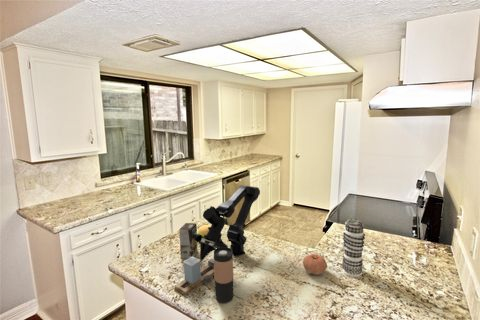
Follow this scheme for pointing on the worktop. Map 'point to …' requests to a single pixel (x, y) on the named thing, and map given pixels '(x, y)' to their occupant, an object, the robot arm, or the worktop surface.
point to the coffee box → (188, 240)
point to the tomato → (315, 264)
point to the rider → (192, 270)
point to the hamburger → (203, 230)
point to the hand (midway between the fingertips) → (200, 259)
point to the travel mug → (223, 274)
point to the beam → (204, 279)
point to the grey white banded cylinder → (353, 247)
